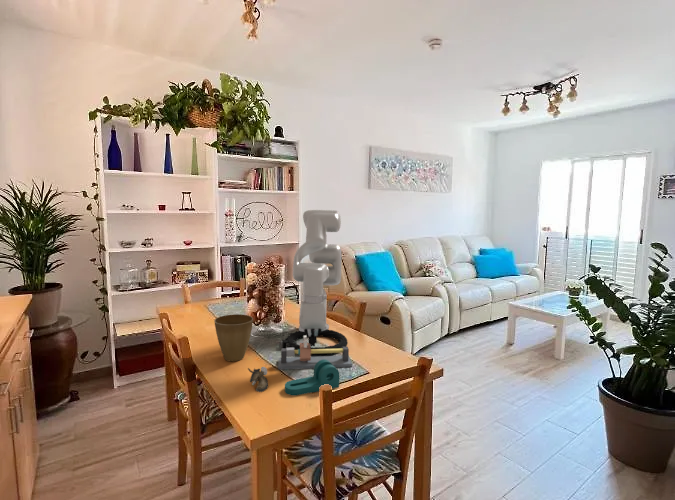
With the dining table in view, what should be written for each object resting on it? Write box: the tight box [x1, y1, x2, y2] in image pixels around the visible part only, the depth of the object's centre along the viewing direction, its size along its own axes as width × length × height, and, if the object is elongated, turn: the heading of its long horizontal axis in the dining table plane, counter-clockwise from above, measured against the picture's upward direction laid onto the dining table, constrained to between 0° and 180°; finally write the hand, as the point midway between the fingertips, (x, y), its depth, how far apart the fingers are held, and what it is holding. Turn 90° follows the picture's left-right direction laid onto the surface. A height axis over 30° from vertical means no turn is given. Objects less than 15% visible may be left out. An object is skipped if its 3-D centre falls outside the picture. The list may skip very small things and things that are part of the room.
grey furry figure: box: [247, 366, 269, 393], centre depth 128 cm, size 8×7×9 cm
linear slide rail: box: [278, 346, 353, 370], centre depth 147 cm, size 8×28×6 cm, turn 98°
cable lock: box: [279, 329, 348, 357], centre depth 167 cm, size 28×4×30 cm
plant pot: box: [213, 313, 254, 362], centre depth 150 cm, size 15×15×16 cm
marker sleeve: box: [299, 335, 312, 361], centre depth 146 cm, size 5×4×8 cm
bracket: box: [284, 359, 340, 396], centre depth 127 cm, size 18×7×8 cm, turn 114°
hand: (312, 345), depth 146 cm, fingers closed
